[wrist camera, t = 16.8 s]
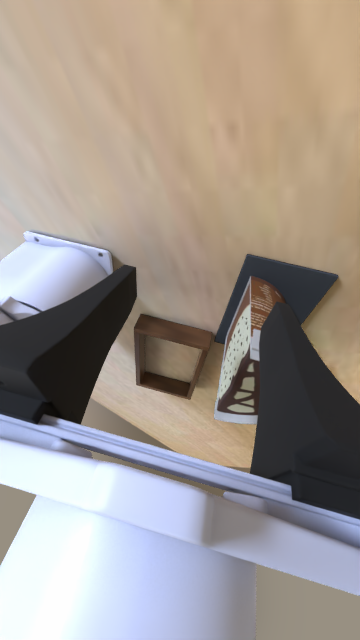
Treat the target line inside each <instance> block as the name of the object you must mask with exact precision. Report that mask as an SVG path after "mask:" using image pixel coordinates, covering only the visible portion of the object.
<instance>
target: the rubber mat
mask: <svg viewBox="0 0 360 640" xmlns="http://www.w3.org/2000/svg"><path fill="white" fill-rule="evenodd" d="M250 276H254V277H257V278H260V279H263V280H265V281H267V282H269V283H270V284H272V285H273V286H274V287H276V288H277V289H278V290H279V291H280V293H281V294H282V295H283V297H284V299H285V303H286V304H289V305H290V307H291V309H292V311H293V313H294V315H295V316H296V318H297V320H298V322H299V324H300V326H301V324H302V323H303V322H304V321H305V319H306V318H307V317H308V315H309V314H310V313H311V312H312V310H313V309H314V308H315V307H316V305H317V304H318V303H319V301H320V300H321V299H322V298H323V296H324V295H325V294H326V292H327V291H328V290H329V289H330V287H331V286H332V285H333V283H334V282H335V281H336V280H337V278H338V275H336V274H332V273H327V272H323V271H319V270H314V269H310V268H306V267H301V266H297V265H293V264H288V263H284V262H280V261H275V260H271V259H267V258H263V257H258V256H254V255H250V254H247V256H246V259H245V261H244V264H243V267H242V269H241V272H240V275H239V277H238V280H237V282H236V285H235V288H234V290H233V293H232V296H231V298H230V301H229V303H228V306H227V309H226V311H225V314H224V316H223V319H222V322H221V324H220V327H219V330H218V332H217V335H216V337H215V340H214V342H218V343H222V344H225V341H226V335H227V333H228V330H229V328H230V325H231V323H232V320H233V318H234V315H235V313H236V311H237V308H238V306H239V303H240V301H241V298H242V296H243V293H244V291H245V288H246V286H247V283H248V281H249V279H250Z"/></svg>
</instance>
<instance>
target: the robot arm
mask: <svg viewBox="0 0 360 640" xmlns="http://www.w3.org/2000/svg"><path fill="white" fill-rule="evenodd" d="M23 235H24V238H25V241H26V242H25V243H23V244H22V245H21V246H19V247H18V248H17V249H16V250H14V251H13V252H12V253H10V254H9V255H8V256H6V257H5V258H4V259H3V260H1V261H0V483H1V484H4V485H8V486H11V487H14V488H18V489H21V490H24V491H27V492H30V493H33V494H36V495H37V496H36V498H35V500H34V502H33V504H32V506H31V508H30V510H29V512H28V514H27V516H26V518H25V519H24V521H23V523H22V525H21V527H20V529H19V531H18V533H17V535H16V537H15V539H14V541H13V543H12V545H11V546H10V548H9V551H8V552H7V554H6V556H5V558H4V560H3V562H2V564H1V566H0V640H255V638H256V564H260V565H263V566H266V567H269V568H272V569H275V570H279V571H282V572H285V573H288V574H291V575H295V576H298V577H301V578H304V579H307V580H311V581H314V582H317V583H320V584H324V585H326V586H330V587H333V588H336V589H339V590H343V591H346V592H349V593H352V594H355V595H358V596H360V404H359V403H358V402H357V401H356V400H355V399H354V398H353V397H352V396H351V395H350V394H349V393H348V392H347V390H346V389H345V388H344V387H343V386H342V385H341V384H340V383H339V381H338V380H337V379H336V378H335V377H334V375H333V374H332V373H331V371H330V370H329V369H328V368H327V366H326V365H325V364H324V362H323V361H322V360H321V358H320V357H319V355H318V354H317V352H316V351H315V349H314V348H313V346H312V344H311V343H310V341H309V340H308V338H307V336H306V334H305V333H304V331H303V329H302V327H301V326H300V324H299V322H298V320H297V318H296V316H295V315H294V313H293V311H292V309H291V307H290V305H289V304H285V303H281V302H277V301H276V303H275V305H274V307H273V308H272V310H271V312H270V313H269V315H268V317H267V318H266V320H265V322H264V323H263V325H262V327H261V332H260V340H259V366H260V397H259V409H258V419H257V428H256V436H255V444H254V451H253V457H252V464H251V470H250V474H248V473H245V472H242V471H238V470H235V469H232V468H228V467H225V466H221V465H218V464H214V463H211V462H207V461H204V460H201V459H197V458H194V457H190V456H187V455H183V454H180V453H176V452H173V451H170V450H166V449H163V448H159V447H156V446H152V445H149V444H145V443H142V442H139V441H135V440H131V439H128V438H125V437H121V436H118V435H114V434H111V433H108V432H104V431H100V430H97V429H94V428H90V427H87V426H83V425H81V422H82V419H83V416H84V413H85V410H86V407H87V405H88V402H89V399H90V396H91V394H92V391H93V389H94V386H95V383H96V381H97V378H98V376H99V373H100V371H101V368H102V366H103V364H104V361H105V359H106V357H107V355H108V352H109V350H110V348H111V346H112V344H113V343H114V341H115V339H116V337H117V336H118V334H119V332H120V330H121V329H122V327H123V325H124V323H125V321H126V320H127V318H128V316H129V314H130V312H131V310H132V308H133V305H134V303H135V300H136V297H137V285H136V267H133V266H128V265H123V266H122V267H120V268H119V269H117V270H116V271H115V272H113V266H112V257H111V253H110V252H109V251H107V250H103V249H99V248H95V247H91V246H87V245H83V244H78V243H74V242H70V241H66V240H62V239H57V238H53V237H49V236H45V235H41V234H37V233H32V232H28V231H27V232H25V233H24V234H23ZM37 238H38V239H37ZM100 253H102V254H103V255H101V254H100ZM80 447H81V448H80ZM82 448H84V449H82ZM85 449H87V450H91V451H94V452H98V453H101V454H104V455H108V456H111V457H115V458H118V459H122V460H125V461H128V462H131V463H135V464H138V465H142V466H145V467H148V468H152V469H155V470H158V471H162V472H165V473H169V474H172V475H175V476H179V477H182V478H185V479H189V480H192V481H195V482H199V483H202V484H206V485H209V486H212V487H216V488H219V489H222V490H226V491H229V492H225V493H224V495H223V496H222V497H219V496H216V495H214V494H211V493H209V492H207V491H205V490H203V489H200V488H197V487H194V486H191V485H188V484H185V483H181V482H178V481H175V480H171V479H168V478H165V477H161V476H158V475H155V474H151V473H147V472H144V471H141V470H138V469H134V468H131V467H127V466H124V465H120V464H116V463H112V462H104V461H100V460H95V459H93V458H92V453H91V452H90V451H87V450H85Z"/></svg>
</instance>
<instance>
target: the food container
mask: <svg viewBox="0 0 360 640" xmlns="http://www.w3.org/2000/svg"><path fill="white" fill-rule="evenodd" d="M276 301H277V302H281V303H285V299H284V297H283V295H282V294H281V293H280V291H279V290H278V289H277V288H276V287H274V286H273V285H272V284H270V283H269V282H267V281H265V280H263V279H260V278H257V277H254V276H250V279H249V281H248V283H247V286H246V288H245V291H244V293H243V296H242V298H241V301H240V303H239V306H238V308H237V311H236V313H235V315H234V318H233V320H232V323H231V325H230V328H229V330H228V333H227V335H226V341H225V347H224V354H223V361H222V367H221V374H220V381H219V387H218V394H217V401H215V410H214V419H216V420H220V421H225V422H231V423H239V424H257V419H258V409H259V397H260V366H259V340H260V332H261V327H262V325H263V323H264V322H265V320H266V318H267V317H268V315H269V313H270V312H271V310H272V308H273V307H274V305H275V303H276ZM285 304H286V303H285Z"/></svg>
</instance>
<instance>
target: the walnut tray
mask: <svg viewBox="0 0 360 640" xmlns="http://www.w3.org/2000/svg"><path fill="white" fill-rule="evenodd" d="M145 335H149V336H152V337H156V338H160V339H164V340H168V341H172V342H175V343H179V344H183V345H187V346H191V347H195V348H199V349H201V351H200V354H199V357H198V360H197V363H196V366H195V369H194V372H193V375H192V378H191V381H190V384H189V383H185V382H181V381H178V380H174V379H170V378H166V377H163V376H159V375H155V374H152V373H148V372H145ZM211 337H212V332H209V331H205V330H201V329H197V328H194V327H190V326H186V325H182V324H178V323H174V322H170V321H166V320H162V319H158V318H154V317H150V316H146V315H143V314H140V317H139V319H138V321H137V323H136V325H135V327H134V341H135V363H136V385H138V386H142V387H145V388H149V389H153V390H156V391H160V392H164V393H167V394H171V395H174V396H178V397H182V398H185V399H189V400H190V399H191V396H192V394H193V391H194V388H195V385H196V383H197V380H198V377H199V375H200V372H201V369H202V367H203V364H204V361H205V358H206V356H207V353H208V350H209V348H210V342H211Z"/></svg>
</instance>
